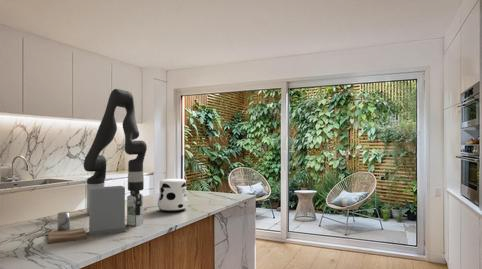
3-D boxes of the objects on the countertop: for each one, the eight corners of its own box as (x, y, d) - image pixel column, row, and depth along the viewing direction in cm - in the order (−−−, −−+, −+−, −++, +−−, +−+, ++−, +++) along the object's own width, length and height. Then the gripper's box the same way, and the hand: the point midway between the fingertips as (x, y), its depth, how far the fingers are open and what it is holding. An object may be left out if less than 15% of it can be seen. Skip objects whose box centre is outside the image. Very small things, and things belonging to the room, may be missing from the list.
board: (48, 235, 145) (48, 232, 145) (83, 230, 152) (83, 228, 152) (48, 243, 132) (48, 240, 132) (86, 238, 139) (86, 235, 139)
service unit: (89, 231, 150) (89, 187, 151) (121, 227, 158) (121, 185, 158) (91, 236, 143) (91, 190, 143) (124, 231, 150) (124, 187, 150)
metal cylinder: (57, 229, 154) (57, 212, 154) (69, 228, 156) (69, 211, 156) (57, 232, 149) (57, 214, 150) (69, 230, 152) (70, 213, 152)
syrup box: (143, 223, 165) (143, 194, 165) (136, 226, 159) (136, 196, 160) (134, 222, 167) (134, 193, 167) (126, 225, 161) (126, 195, 162)
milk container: (193, 209, 199) (193, 179, 200) (173, 214, 185) (173, 182, 185) (172, 206, 208) (172, 178, 209) (151, 211, 194) (151, 180, 194)
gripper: (146, 181, 159) (147, 215, 159) (140, 178, 172) (140, 209, 171) (130, 182, 156) (131, 217, 155) (125, 179, 168) (125, 211, 168)
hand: (135, 213), depth 163 cm, fingers closed on syrup box, 8 cm apart
